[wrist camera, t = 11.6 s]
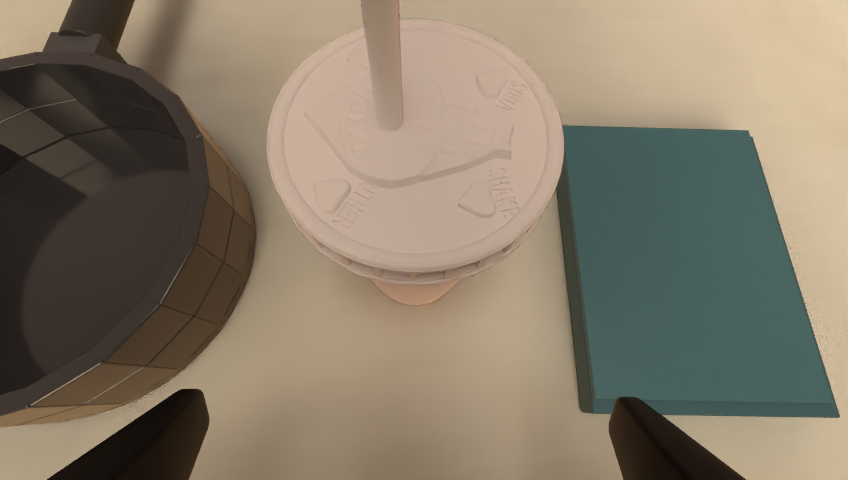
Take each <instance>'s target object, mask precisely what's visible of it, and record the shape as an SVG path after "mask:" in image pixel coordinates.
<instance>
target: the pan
mask: <svg viewBox="0 0 848 480" xmlns="http://www.w3.org/2000/svg"><path fill="white" fill-rule="evenodd" d="M254 245H255V219H254V214H253V209H252V203H251V200H250V197H249V195H248V192H247V189H246V187H245V185H244V183H243V181H242V179H241V178H240V176H239V174H238V172H237V171H236V170H235V169H234V167H233V166H232V164H231V163H230V161H229V159H228V158H227V156H226V154H225V153H224V152H223V151H222V149H221V148H220V147H219V146H218V144H217V143H216V142H215V141H214V139H213V138H212V137H211V136H210V134H209V133H208V132H207V131H206V130H205V128H204V127H203V126H202V124H201V123H200V122H199V121H198V119H197V118H196V117H195V116H194V114H193V113H192V112H191V111H190V109H189V108H188V107H187V106H186V104H185V103H184V102H183V101H182V99H181V98H180V97H179V96H178V95H177V94H175V93H174V92H173V91H171V90H170V89H168V88H167V87H166V86H164V85H163V84H162V83H160V82H159V81H158V80H156V79H155V78H153V77H152V76H151V75H149V74H148V73H147V72H145V71H144V70H142V69H140V68H138V67H135V66H132V65H128V64H125V63H122V62H119V61H116V60H112V59H109V58H106V57H103V56H99V55H96V54H92V53H62V52H34V53H29V54H24V55H19V56H14V57H9V58H4V59H0V427H9V426H20V425H32V424H43V423H54V422H63V421H68V420H71V419H75V418H79V417H84V416H90V415H95V414H98V413H101V412H104V411H107V410H111V409H114V408H117V407H120V406H122V405H124V404H126V403H128V402H131V401H133V400H135V399H137V398H140V397H142V396H143V395H145V394H147V393H149V392H150V391H152V390H154V389H155V388H157V387H159V386H160V385H162V384H164V383H165V382H166V381H168V380H169V379H170V378H172V377H173V376H174V375H176V374H177V373H178V372H180V371H181V370H182V369H184V368H185V367H186V366H187V365H188V364H189V363H190V362H191V361H192V360H194V359H195V358H196V357H197V356H198V355H199V354H200V353H201V352H202V351H203V350H204V349H205V348H206V347H207V345H208V344H209V343H210V342H211V341H212V340H213V338H214V337H215V336H216V335H217V334H218V332H219V331H220V330H221V328H222V327H223V325H224V324H225V322H226V321H227V319H228V318H229V316H230V315H231V313H232V311H233V309H234V308H235V306H236V304H237V302H238V300H239V298H240V296H241V294H242V291H243V289H244V286H245V284H246V281H247V278H248V276H249V272H250V268H251V264H252V259H253V254H254Z"/></svg>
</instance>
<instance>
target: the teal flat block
mask: <svg viewBox="0 0 848 480" xmlns="http://www.w3.org/2000/svg"><path fill="white" fill-rule="evenodd" d="M562 129H563V136H564V156H563V165H562V169H561V174H560V177H559V180H558V183H557V195H558V204H559V213H560V222H561V231H562V240H563V249H564V258H565V268H566V277H567V286H568V295H569V304H570V313H571V322H572V331H573V341H574V350H575V359H576V368H577V377H578V386H579V395H580V405H581V411H582V412H585V413H593V414H612V411H613V408H614V405H615V401H616V399H617V398H618V397H637V398H639V399H641V400H642V401H644V402H645V403H646V404H648V405H649V406H650V407H652V408H653V409H654V410H655V411H657V412H658V413H659V414H661V415H702V416H761V417H821V418H839V417H840V415H839V412H838V409H837V406H836V402H835V399H834V396H833V393H832V390H831V386H830V383H829V380H828V377H827V374H826V371H825V367H824V364H823V361H822V358H821V355H820V351H819V348H818V345H817V342H816V339H815V335H814V332H813V329H812V326H811V323H810V319H809V316H808V313H807V310H806V307H805V303H804V300H803V297H802V294H801V291H800V288H799V284H798V281H797V278H796V275H795V272H794V268H793V265H792V262H791V259H790V256H789V252H788V249H787V246H786V243H785V240H784V236H783V233H782V230H781V227H780V224H779V220H778V217H777V214H776V211H775V208H774V205H773V201H772V198H771V195H770V192H769V189H768V185H767V182H766V179H765V176H764V173H763V169H762V166H761V163H760V160H759V157H758V153H757V150H756V147H755V144H754V141H753V137H750V134H749V131H747V130H710V129H673V128H636V127H599V126H562Z"/></svg>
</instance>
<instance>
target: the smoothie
mask: <svg viewBox="0 0 848 480" xmlns="http://www.w3.org/2000/svg"><path fill="white" fill-rule="evenodd" d="M360 1H361V8H362V16H363V23H364V27H360V28H358V29H355V30H353V31H350V32H348V33H346V34H344V35H341V36H339V37H337V38H335V39H334V40H332V41H330V42H328V43H327V44H325V45H324V46H322V47H321V48H319V49H318V50H316V51H315V52H314V53H313V54H311V55H310V56H309V57H308V58H307V59H306V60H305V61H304V62H303V63H302V64H301V65H300V66H299V67H298V68H297V69H296V70H295V71H294V72H293V74H292V75H291V76H290V77H289V79H288V80H287V82H286V83H285V85H284V86H283V88H282V89H281V91H280V93H279V95H278V97H277V99H276V102H275V104H274V107H273V109H272V112H271V116H270V120H269V124H268V131H267V159H268V164H269V169H270V173H271V176H272V179H273V183H274V185H275V187H276V190H277V192H278V194H279V196H280V198H281V200H282V201H283V203H284V205H285V206H286V208H287V210H288V212H289V214H290V216H291V218H292V220H293V222H294V224H295V226H296V228H297V229H298V230H299V231H300V232H301V233H302V234H303V235H304V236H305V237H306V238H307V239H308V240H309V242H310V243H311V244H312V245H313V246H314V247H315V248H316V249H317V250H318V251H319V252H320V253H321V254H322V255H324V256H325V257H327V258H329V259H330V260H332V261H334V262H335V263H337V264H339V265H340V266H342V267H344V268H345V269H347V270H349V271H351V272H352V273H354V274H357V275H360V276H364V277H367V278H369V279H370V280H371V281H372V282H373V283H374V284H376V285H377V286H378V287H379V288H380V289H381V290H382V291H383V292H384V293H385V294H386V295H388V296H389V297H390V298H392V299H393V300H395V301H397V302H400V303H403V304H407V305H424V304H428V303H431V302H433V301H435V300H437V299H439V298H440V297H442V296H443V295H444V294H445V293H446V292H448V291H449V290H450V289H451V288H452V287H453V286H454V285H455V284H456V283H458V282H459V281H460V280H461V279H463V278H467V277H471V276H474V275H476V274H478V273H480V272H482V271H484V270H485V269H487V268H489V267H491V266H493V265H494V264H496V263H498V262H500V261H502V260H503V259H505V258H507V257H508V256H509V255H510V254H511V253H512V252H513V251H514V250H515V249H516V248H517V247H518V246H519V245H520V244H521V243H522V242H523V241H524V240H525V239H526V238H527V237H528V236H529V235H530V234H531V233H532V232H533V231H534V229H535V227H536V226H537V224H538V222H539V220H540V218H541V216H542V214H543V213H544V211H545V209H546V207H547V205H548V203H549V201H550V199H551V197H552V195H553V193H554V191H555V189H556V186H557V183H558V180H559V177H560V174H561V169H562V165H563V156H564V136H563V129H562V123H561V120H560V116H559V112H558V110H557V107H556V104H555V102H554V100H553V98H552V96H551V94H550V92H549V90H548V89H547V87H546V86H545V84H544V82H543V81H542V80H541V78H540V77H539V76H538V75H537V73H536V72H535V71H534V70H533V69H532V68H531V67H530V66H529V65H528V63H527V62H526V61H524V60H523V59H522V58H521V57H520V56H519V55H517V54H516V53H515V52H514V51H512V50H511V49H509V48H508V47H507V46H505V45H504V44H502V43H500V42H498V41H497V40H495V39H493V38H491V37H489V36H487V35H486V34H484V33H481V32H478V31H475V30H473V29H470V28H467V27H464V26H462V25H457V24H452V23H447V22H443V21H438V20H423V19H403V20H400V15H399V0H360Z"/></svg>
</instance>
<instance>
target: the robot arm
mask: <svg viewBox="0 0 848 480" xmlns="http://www.w3.org/2000/svg"><path fill="white" fill-rule="evenodd" d="M208 426H209V414H208V410H207V406H206V402H205V398H204V395H203V392H202V391H201V390H199V389H181V390H179V391H177V392H175V393H174V394H172V395H171V396H169V397H168V398H166V399H165V400H164V401H162V402H161V403H159V404H158V405H156V406H155V407H153V408H152V409H150V410H149V411H147V412H146V413H144V414H143V415H141V416H140V417H138V418H137V419H135V420H134V421H133V422H131V423H130V424H128V425H127V426H125V427H124V428H122V429H121V430H119V431H118V432H116V433H115V434H113V435H112V436H110V437H109V438H107V439H106V440H104V441H103V442H102V443H100V444H99V445H97V446H96V447H94V448H93V449H91V450H90V451H88V452H87V453H85V454H84V455H82V456H81V457H79V458H78V459H76V460H75V461H73V462H72V463H70V464H69V465H68V466H66V467H65V468H63V469H62V470H60V471H59V472H57V473H56V474H54V475H53V476H51V477H50V478H48V479H47V480H189V477H190V475H191V472H192V469H193V467H194V464H195V461H196V459H197V456H198V453H199V451H200V448H201V446H202V443H203V440H204V438H205V435H206V432H207V430H208ZM609 434H610V437H611V441H612V444H613V447H614V450H615V453H616V457H617V460H618V463H619V466H620V470H621V473H622V476H623V479H624V480H746V479H745V478H743V477H742V476H741V475H739V474H738V473H737V472H735V471H734V470H733V469H732V468H730V467H729V466H728V465H726V464H725V463H724V462H722V461H721V460H720V459H718V458H717V457H716V456H714V455H713V454H712V453H711V452H709V451H708V450H707V449H705V448H704V447H703V446H701V445H700V444H699V443H697V442H696V441H695V440H693V439H692V438H691V437H690V436H688V435H687V434H686V433H684V432H683V431H682V430H680V429H679V428H678V427H676V426H675V425H674V424H673V423H671V422H670V421H669V420H667V419H666V418H665V417H663V416H662V415H661V414H659V413H658V412H657V411H655V410H654V409H653V408H652V407H650V406H649V405H648V404H646V403H645V402H644V401H642V400H641V399H639V398H637V397H618V398H617V399H616V401H615V405H614V408H613V411H612V415H611V418H610V422H609Z"/></svg>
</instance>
